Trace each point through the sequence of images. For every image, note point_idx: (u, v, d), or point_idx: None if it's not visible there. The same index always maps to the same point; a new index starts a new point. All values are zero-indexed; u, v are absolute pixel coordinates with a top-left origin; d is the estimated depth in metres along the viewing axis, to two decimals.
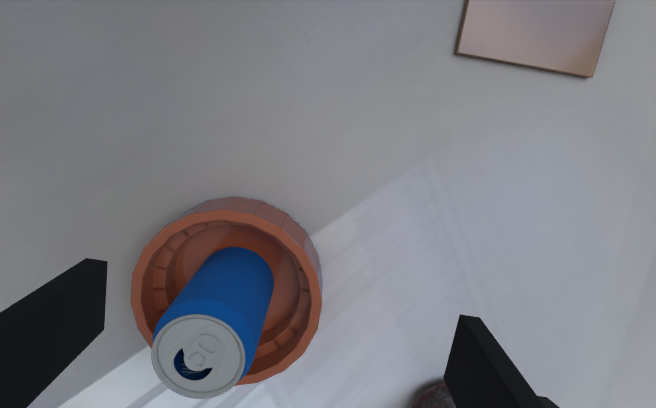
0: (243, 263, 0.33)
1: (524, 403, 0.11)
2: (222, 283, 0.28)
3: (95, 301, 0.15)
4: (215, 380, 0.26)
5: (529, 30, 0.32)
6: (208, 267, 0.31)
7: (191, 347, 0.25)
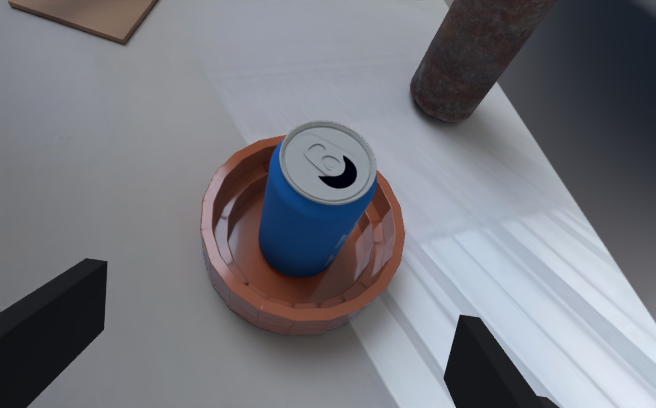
0: None
1: (524, 403, 0.11)
2: None
3: (95, 301, 0.15)
4: (357, 155, 0.25)
5: None
6: (263, 221, 0.29)
7: (316, 166, 0.24)
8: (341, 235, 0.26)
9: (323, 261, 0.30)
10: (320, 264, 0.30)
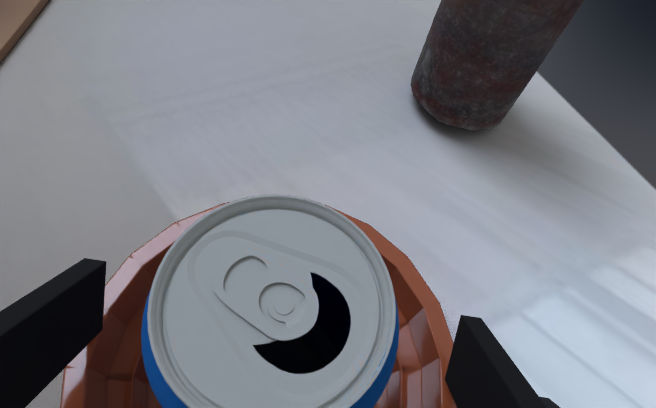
0: None
1: (526, 404, 0.11)
2: None
3: (94, 301, 0.15)
4: (345, 265, 0.11)
5: None
6: None
7: (248, 319, 0.10)
8: None
9: None
10: None
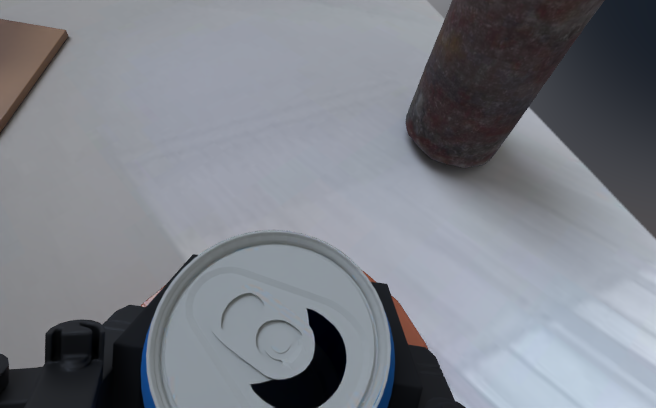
0: None
1: None
2: None
3: None
4: (341, 301, 0.11)
5: None
6: None
7: (245, 357, 0.10)
8: None
9: None
10: None
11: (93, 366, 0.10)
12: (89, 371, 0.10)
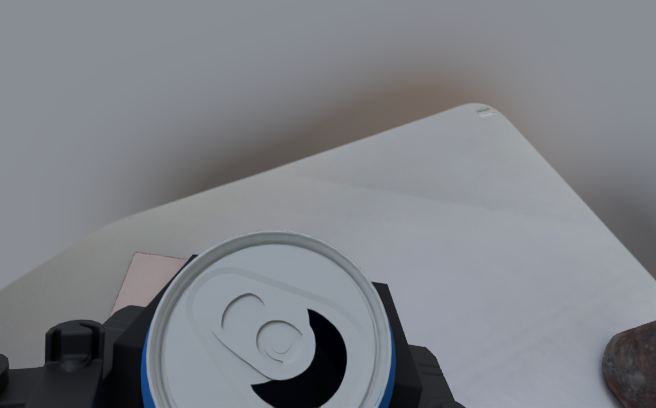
0: None
1: None
2: None
3: None
4: (342, 301, 0.11)
5: None
6: None
7: (246, 358, 0.10)
8: None
9: None
10: None
11: (93, 366, 0.10)
12: (89, 371, 0.10)
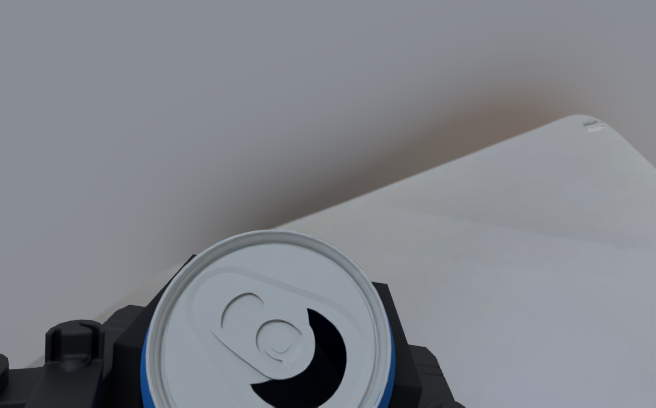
0: None
1: None
2: None
3: None
4: (341, 301, 0.11)
5: None
6: None
7: (245, 357, 0.10)
8: None
9: None
10: None
11: (93, 366, 0.10)
12: (89, 371, 0.10)
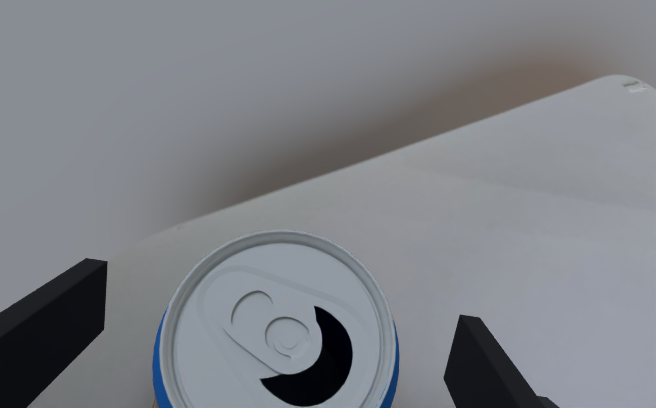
0: None
1: (524, 403, 0.11)
2: None
3: (95, 301, 0.15)
4: (347, 299, 0.11)
5: None
6: None
7: (255, 353, 0.10)
8: None
9: None
10: None
11: None
12: None
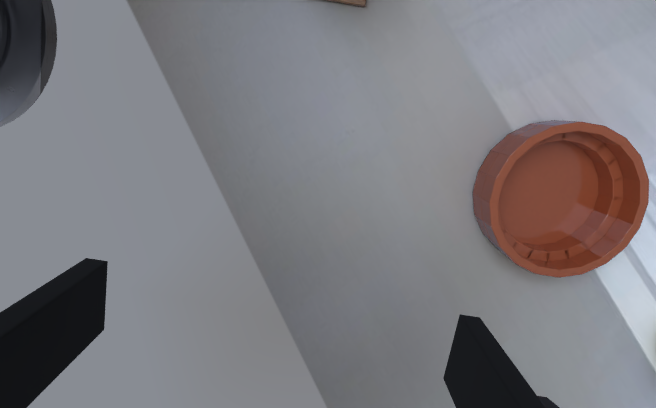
0: None
1: (524, 403, 0.11)
2: None
3: (95, 301, 0.15)
4: None
5: None
6: None
7: None
8: None
9: None
10: None
11: None
12: None
